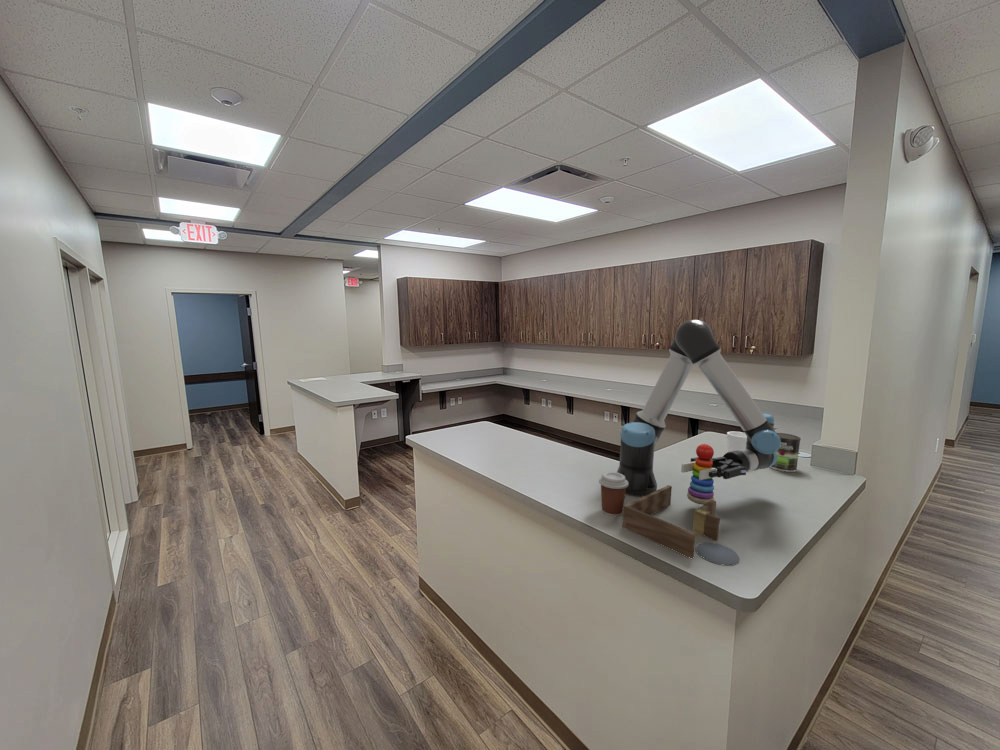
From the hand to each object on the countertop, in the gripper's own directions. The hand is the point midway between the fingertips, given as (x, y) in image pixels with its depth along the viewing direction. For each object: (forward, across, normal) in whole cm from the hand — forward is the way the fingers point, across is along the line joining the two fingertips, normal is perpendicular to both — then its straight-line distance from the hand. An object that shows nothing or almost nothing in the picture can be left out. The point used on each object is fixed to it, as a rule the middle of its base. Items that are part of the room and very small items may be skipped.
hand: (691, 471), depth 126 cm
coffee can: (-73, +14, -14) cm, 76 cm away
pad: (+13, -20, -14) cm, 27 cm away
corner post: (+7, -10, -14) cm, 18 cm away
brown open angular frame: (+11, -5, -14) cm, 18 cm away
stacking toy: (-5, 0, -11) cm, 12 cm away
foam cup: (-61, +26, -14) cm, 67 cm away
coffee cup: (+22, +10, -14) cm, 28 cm away
